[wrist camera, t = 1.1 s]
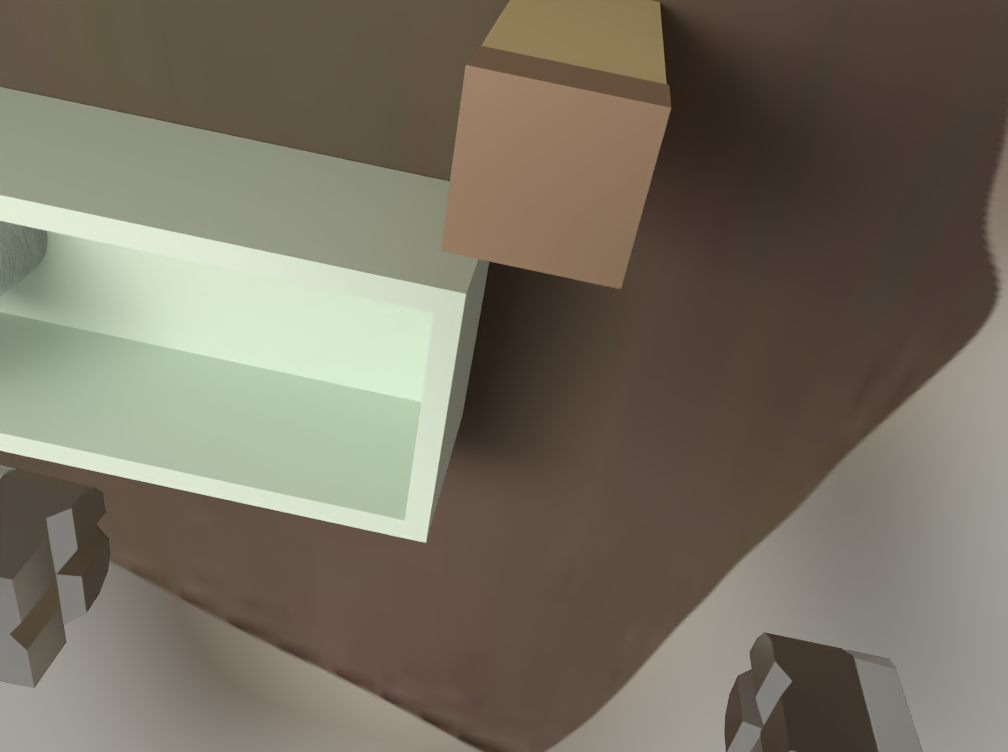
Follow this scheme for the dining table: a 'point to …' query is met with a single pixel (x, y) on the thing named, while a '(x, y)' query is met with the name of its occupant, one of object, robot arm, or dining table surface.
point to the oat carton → (559, 137)
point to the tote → (232, 316)
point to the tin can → (19, 252)
